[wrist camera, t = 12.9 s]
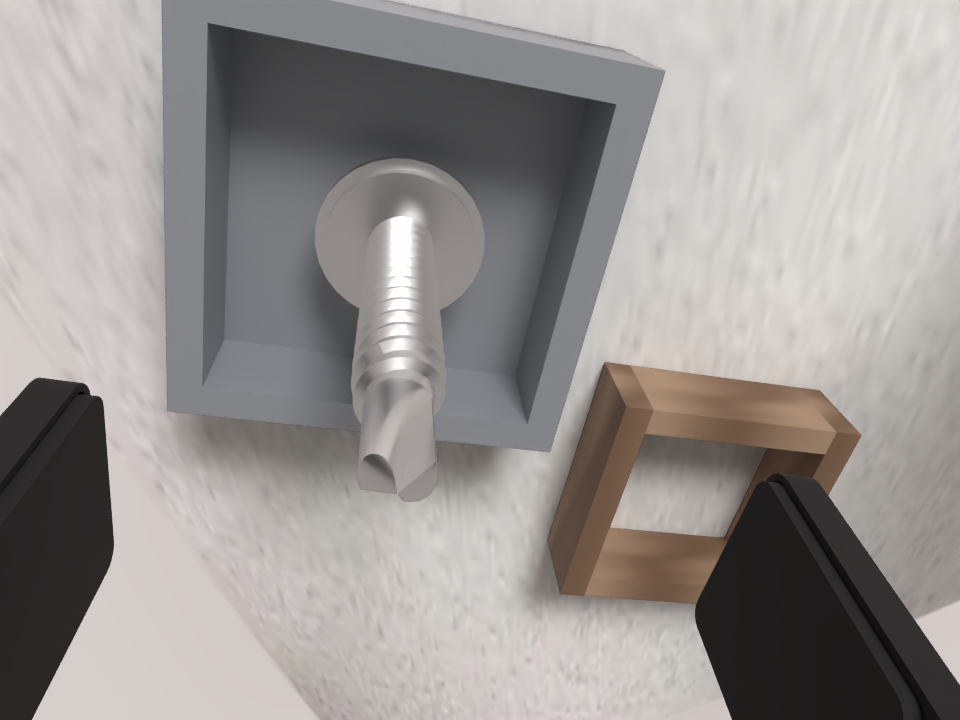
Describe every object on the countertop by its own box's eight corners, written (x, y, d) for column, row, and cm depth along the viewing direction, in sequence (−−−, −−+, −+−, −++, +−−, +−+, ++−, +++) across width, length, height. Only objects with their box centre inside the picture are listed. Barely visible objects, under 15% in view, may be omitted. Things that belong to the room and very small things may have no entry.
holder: (820, 390, 28) (861, 435, 26) (737, 556, 33) (765, 608, 30) (605, 362, 27) (626, 406, 24) (547, 540, 31) (560, 594, 29)
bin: (623, 50, 21) (665, 70, 18) (531, 388, 27) (549, 452, 24) (204, -39, 19) (161, -36, 16) (199, 347, 25) (166, 411, 22)
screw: (293, 177, 21) (443, 115, 21) (363, 311, 24) (500, 258, 23) (172, 430, 10) (489, 309, 10) (326, 635, 13) (587, 547, 12)
